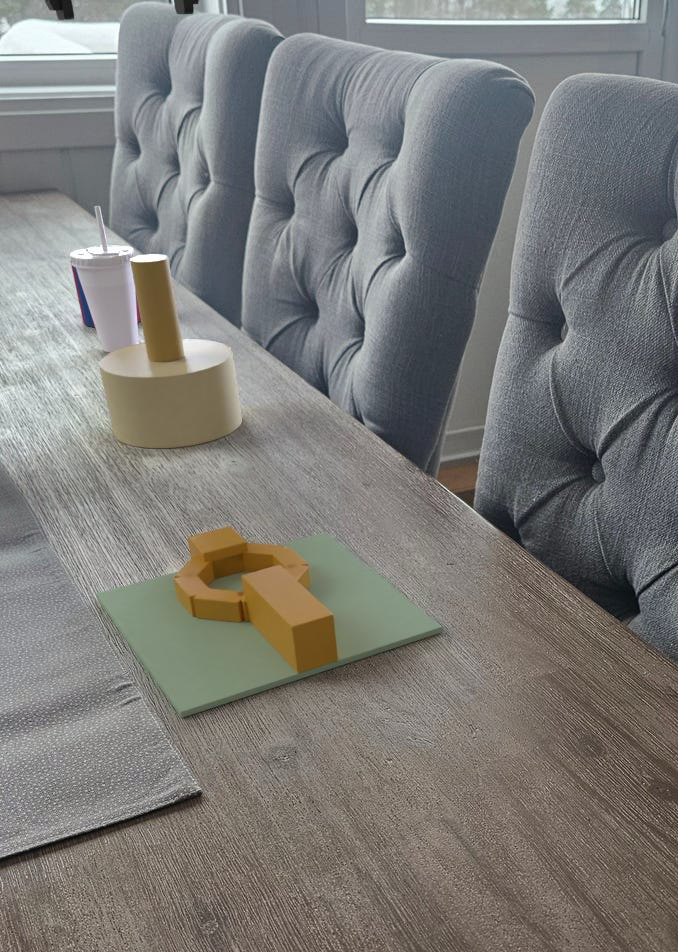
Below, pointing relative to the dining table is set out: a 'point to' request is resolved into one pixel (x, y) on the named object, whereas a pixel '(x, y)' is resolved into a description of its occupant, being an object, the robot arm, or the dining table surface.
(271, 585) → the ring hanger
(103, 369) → the stand
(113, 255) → the smoothie
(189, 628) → the mat
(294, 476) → the dining table surface
